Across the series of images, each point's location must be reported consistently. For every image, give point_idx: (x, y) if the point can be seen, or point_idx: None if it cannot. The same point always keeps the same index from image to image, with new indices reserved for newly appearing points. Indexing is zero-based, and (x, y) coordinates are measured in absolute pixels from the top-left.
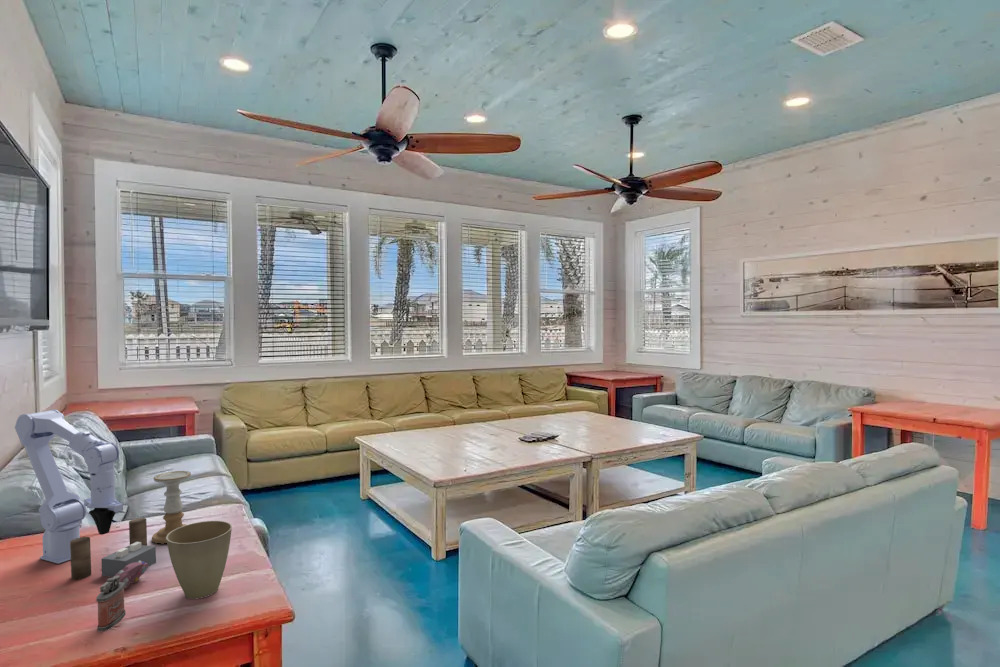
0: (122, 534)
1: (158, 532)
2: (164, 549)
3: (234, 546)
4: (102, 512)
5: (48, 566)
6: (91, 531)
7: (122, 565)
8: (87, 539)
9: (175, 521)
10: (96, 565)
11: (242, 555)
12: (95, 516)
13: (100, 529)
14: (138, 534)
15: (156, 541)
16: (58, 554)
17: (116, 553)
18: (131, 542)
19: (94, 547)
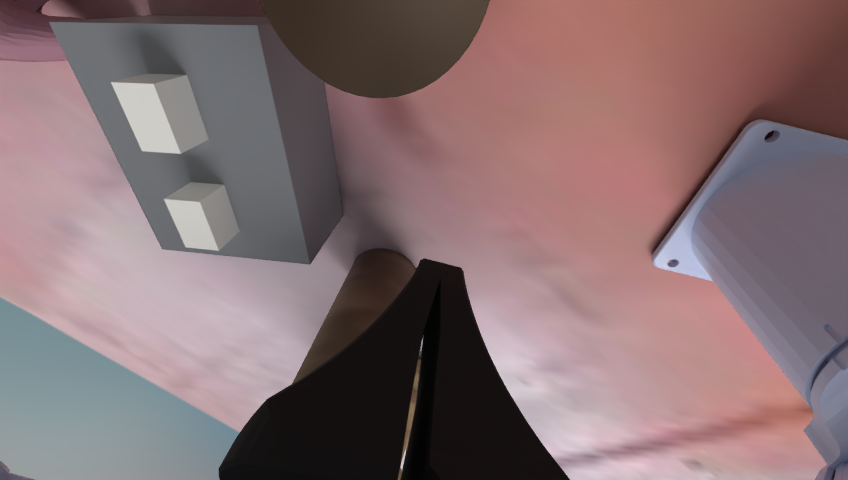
0: (620, 415)
1: (412, 402)
2: (318, 311)
3: (121, 335)
4: (219, 467)
5: (815, 77)
6: (800, 442)
7: (108, 20)
8: (287, 12)
9: None
10: (476, 140)
11: (19, 282)
12: (431, 413)
13: (413, 282)
14: (319, 333)
15: None
16: (809, 170)
17: (161, 79)
18: (367, 295)
19: (664, 319)
